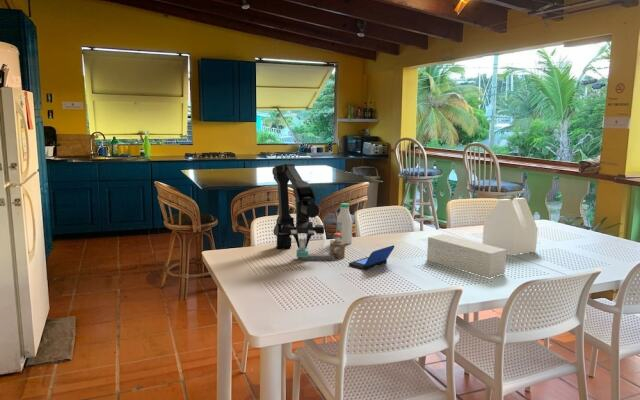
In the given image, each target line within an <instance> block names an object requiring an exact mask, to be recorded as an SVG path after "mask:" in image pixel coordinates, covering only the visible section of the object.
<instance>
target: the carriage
mask: <svg viewBox="0 0 640 400" xmlns="http://www.w3.org/2000/svg"><path fill="white" fill-rule="evenodd" d="M298 238H299V248H298V247H297V248H296V258H298V257H308V254H309V248H308V247H307V248H306V238H305V237H298Z"/></svg>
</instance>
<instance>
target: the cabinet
mask: <svg viewBox="0 0 640 400" xmlns="http://www.w3.org/2000/svg"><path fill="white" fill-rule="evenodd" d="M345 247H346V244H344V241H343V240H340V243H335V239H330V247H329V254H334V259H335V258H336V259H337V258H339V259H340V258H341V259H342V258H345V253H346V252H345Z"/></svg>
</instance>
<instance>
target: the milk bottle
mask: <svg viewBox="0 0 640 400" xmlns="http://www.w3.org/2000/svg"><path fill="white" fill-rule="evenodd" d="M339 208H340V211H339V213H338V214H337V218H336V230H335V231H336V232H335V233H341V236H340V240H343V241H344V244H345V245H349V244H351V243H352V242H353V241H352V239H353V238H352V236H353V234H352V233H353V219H352V215H351V213H350V203H348V202H342V203H340V204H339Z"/></svg>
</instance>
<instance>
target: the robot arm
mask: <svg viewBox="0 0 640 400" xmlns="http://www.w3.org/2000/svg"><path fill="white" fill-rule="evenodd" d="M295 166H296V165H295V164H294V163H292V162H291V163H290V162H289V163H288V162H287V163H283V164H279V165H278V164H277V165H276V164H275V165H274V167H273V168H272V170H271V171H272V172H271V173H272V175H273V180H274V181H275V182H276V185H277V193H278V194H277V195H278V196H277V197H278V211H279V213H278V217H277V218H276V224H275V226H274V228H273V229H272V230H273V231H272V232H273V235H274V236H275V237H276V249H277V250H279V249H281V250H286V249H287V250H290V249H291V247H292V236H293V237H294V239H295V241H296V245H297V248H299V238H300V237H299V235H301V234H304V235H306V236H305V237H306V238H305V239H306V248H308V245H309V242H310V239H311V238H312V236H315V234H317V235H324V234H325V226H324V225H323V224H314V222H313V221H310V218H312V219H313V218H316V217H317V216H319V213H320V208H319V207H318V205H316V195H315V193H314V190H313V187H312V186H311V184H310V183H309V182H307V181H305V180H303V179H302V177H301V175H300V173H299V172H298V170H297V169H296V167H295ZM289 182H290V183H291V185H292V188H293V191H292V193H293V195H294V198H295V200H294V201H295V205H296V207H295V211H296V212H295V215H296V217H295V220H296V221H295V220H294V217H292V215H291V214H290V201H289V186H288V185H289ZM313 225H314V226H313Z"/></svg>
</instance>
